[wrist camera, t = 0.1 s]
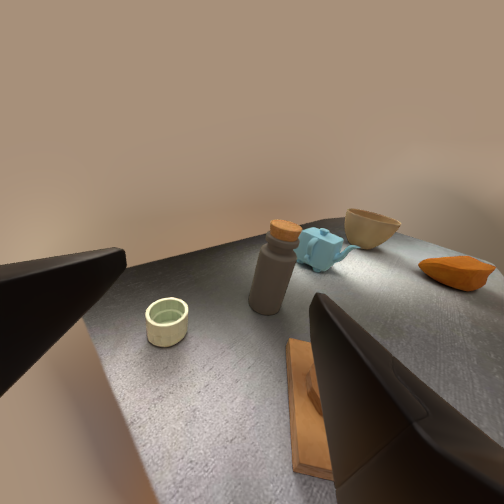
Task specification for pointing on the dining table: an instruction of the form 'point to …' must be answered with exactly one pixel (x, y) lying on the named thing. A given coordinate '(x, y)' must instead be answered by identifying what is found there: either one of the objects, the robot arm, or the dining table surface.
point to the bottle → (274, 267)
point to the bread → (457, 271)
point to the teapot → (320, 249)
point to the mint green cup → (166, 321)
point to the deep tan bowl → (368, 228)
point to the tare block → (306, 413)
